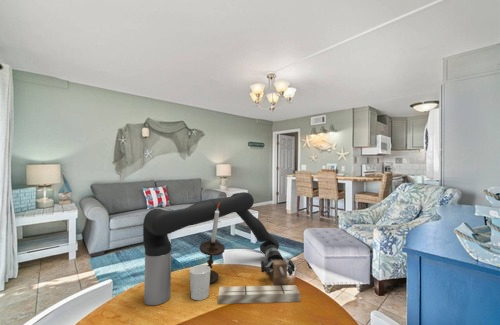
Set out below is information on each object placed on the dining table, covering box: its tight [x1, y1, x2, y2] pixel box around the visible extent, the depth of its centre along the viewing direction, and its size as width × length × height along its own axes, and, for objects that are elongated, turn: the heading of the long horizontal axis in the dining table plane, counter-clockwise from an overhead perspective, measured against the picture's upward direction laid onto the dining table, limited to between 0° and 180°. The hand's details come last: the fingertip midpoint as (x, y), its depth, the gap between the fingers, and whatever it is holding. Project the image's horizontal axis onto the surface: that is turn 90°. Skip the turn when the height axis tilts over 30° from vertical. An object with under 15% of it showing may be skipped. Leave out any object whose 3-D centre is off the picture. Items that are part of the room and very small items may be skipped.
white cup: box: [189, 264, 211, 301], centre depth 86 cm, size 8×8×10 cm
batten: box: [217, 284, 301, 305], centre depth 85 cm, size 30×6×3 cm, turn 93°
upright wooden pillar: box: [272, 259, 288, 286], centre depth 88 cm, size 5×9×11 cm, turn 3°
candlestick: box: [199, 203, 226, 285], centre depth 97 cm, size 11×11×35 cm
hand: (280, 273), depth 90 cm, fingers open, 8 cm apart
